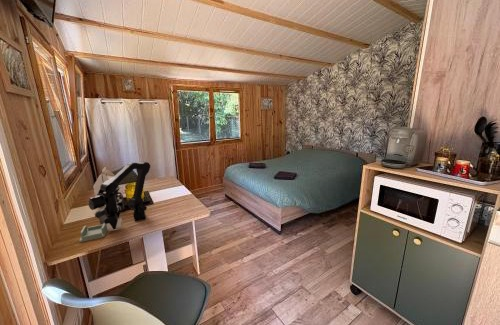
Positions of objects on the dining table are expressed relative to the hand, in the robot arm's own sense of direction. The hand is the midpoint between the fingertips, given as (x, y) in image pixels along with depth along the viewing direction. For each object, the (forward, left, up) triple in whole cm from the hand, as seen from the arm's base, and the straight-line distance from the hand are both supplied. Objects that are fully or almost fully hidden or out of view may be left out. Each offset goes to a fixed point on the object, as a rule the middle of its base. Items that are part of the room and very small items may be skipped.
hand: (115, 226), depth 129 cm
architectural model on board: (+10, -21, -3) cm, 24 cm away
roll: (0, 0, -1) cm, 1 cm away
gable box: (+12, -56, -3) cm, 57 cm away
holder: (+11, -1, -2) cm, 11 cm away
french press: (+4, -34, -3) cm, 34 cm away
